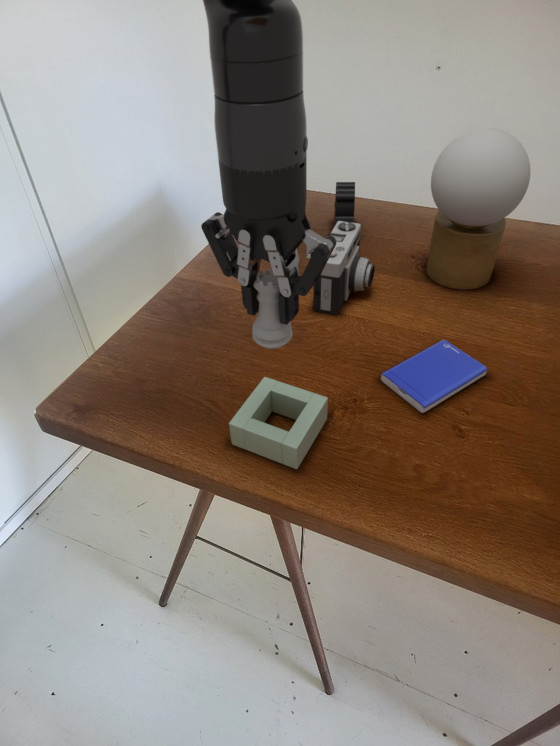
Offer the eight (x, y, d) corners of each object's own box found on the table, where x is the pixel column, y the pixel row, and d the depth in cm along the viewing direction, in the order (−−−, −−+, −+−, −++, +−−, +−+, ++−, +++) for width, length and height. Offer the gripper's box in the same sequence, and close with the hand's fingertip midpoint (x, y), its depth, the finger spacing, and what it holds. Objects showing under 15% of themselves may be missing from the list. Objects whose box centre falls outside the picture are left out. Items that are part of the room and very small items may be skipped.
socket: (231, 444, 66) (228, 423, 63) (266, 397, 72) (264, 376, 69) (297, 470, 62) (296, 448, 60) (327, 418, 68) (328, 397, 66)
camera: (360, 320, 84) (364, 265, 77) (311, 311, 86) (311, 257, 79) (378, 275, 93) (384, 223, 86) (334, 268, 96) (336, 217, 89)
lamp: (494, 309, 84) (541, 152, 67) (407, 294, 89) (431, 142, 72) (502, 263, 95) (544, 116, 78) (424, 251, 99) (448, 109, 82)
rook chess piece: (255, 324, 59) (250, 263, 54) (294, 326, 59) (292, 264, 53) (249, 349, 56) (243, 287, 51) (290, 351, 56) (289, 288, 50)
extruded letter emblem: (352, 260, 97) (356, 203, 90) (334, 260, 98) (336, 203, 90) (350, 216, 110) (353, 163, 103) (334, 216, 111) (336, 164, 103)
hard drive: (443, 338, 77) (381, 372, 72) (488, 367, 72) (424, 406, 67) (441, 346, 78) (380, 380, 73) (485, 375, 73) (423, 414, 68)
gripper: (167, 154, 44) (196, 318, 55) (320, 179, 39) (317, 354, 50) (214, 126, 49) (232, 283, 60) (356, 146, 44) (346, 312, 55)
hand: (271, 314), depth 55 cm, fingers closed on rook chess piece, 3 cm apart
